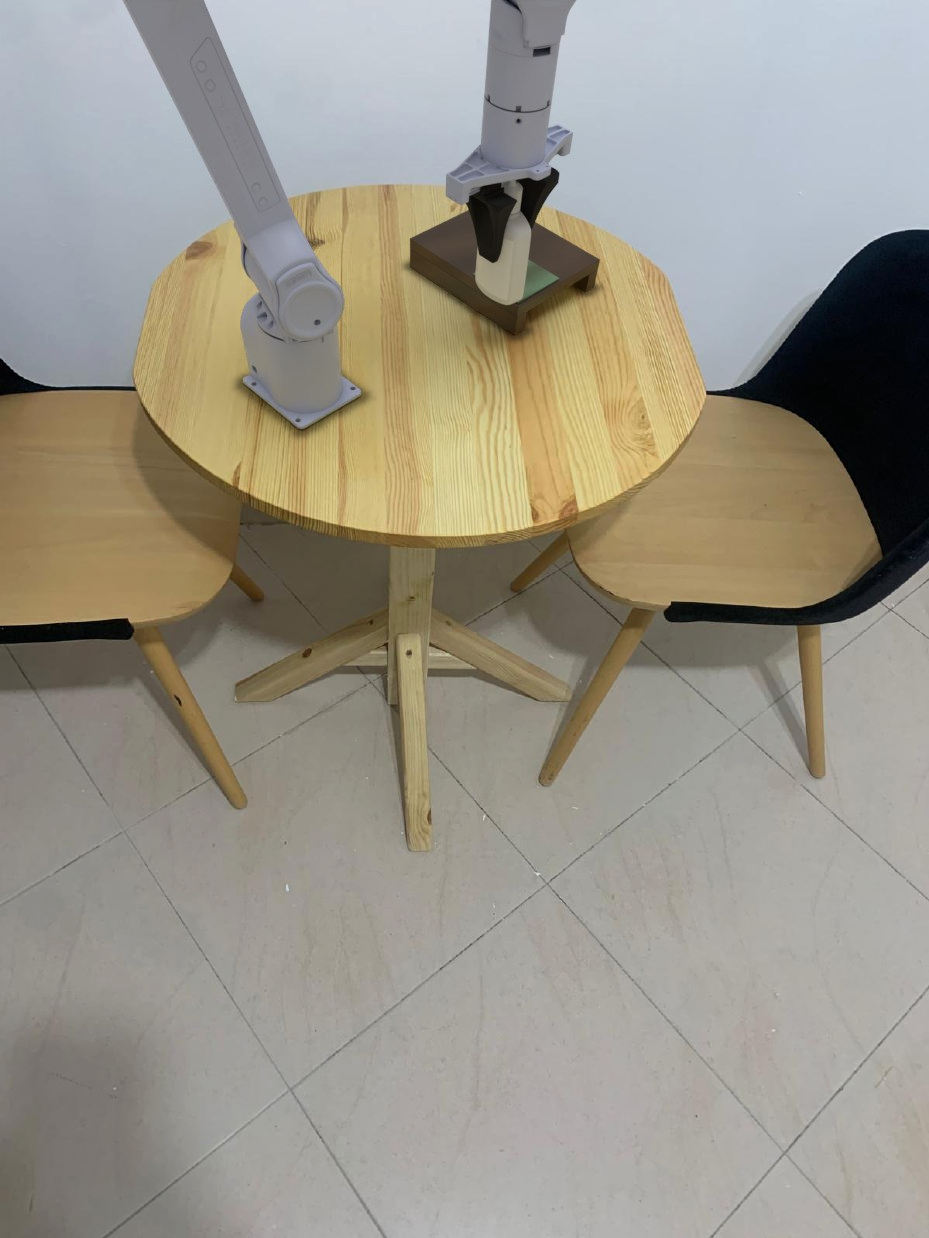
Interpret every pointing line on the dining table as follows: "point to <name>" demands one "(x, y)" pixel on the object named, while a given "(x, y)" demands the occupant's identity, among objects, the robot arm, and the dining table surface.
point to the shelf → (453, 267)
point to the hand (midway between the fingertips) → (502, 250)
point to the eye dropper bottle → (507, 256)
